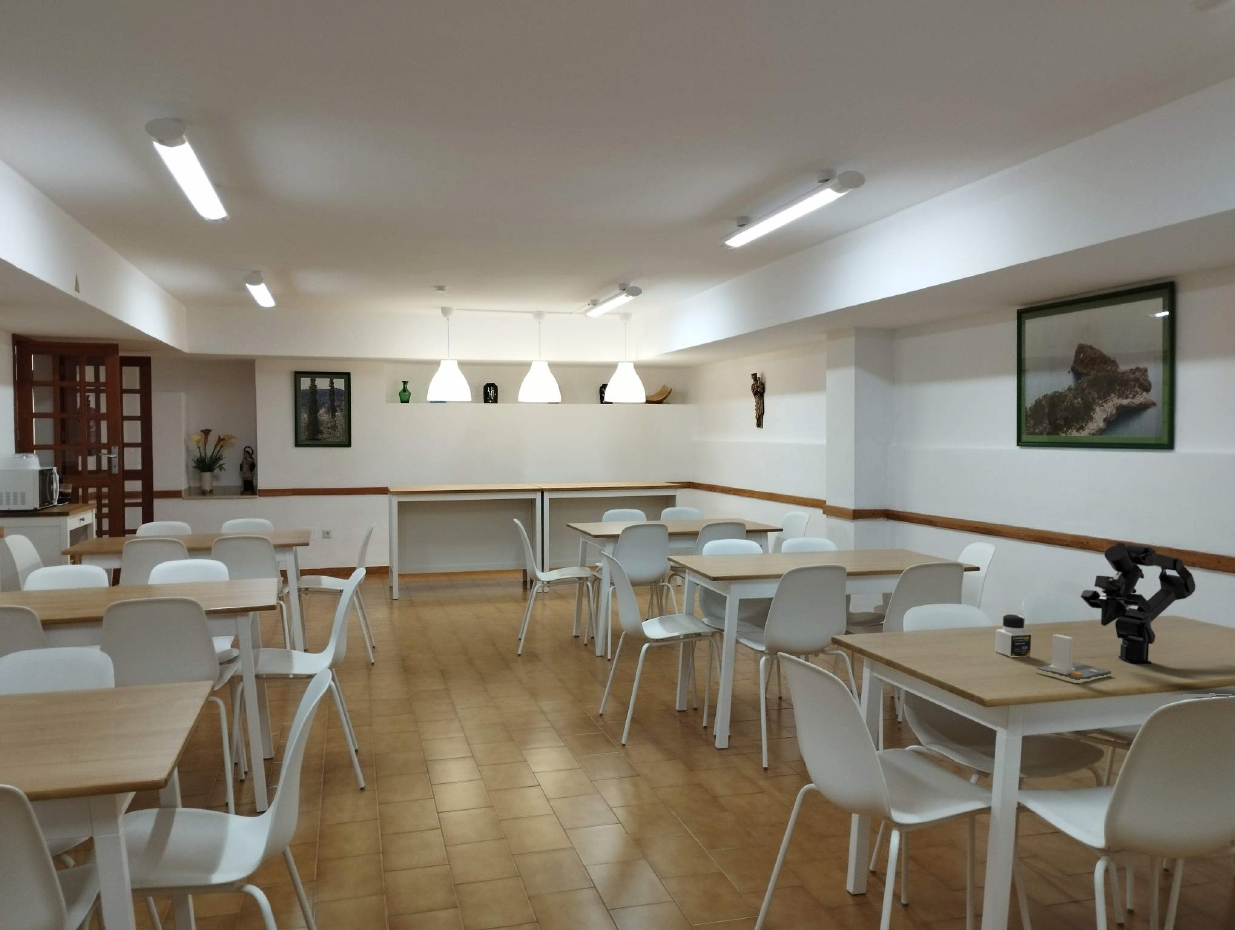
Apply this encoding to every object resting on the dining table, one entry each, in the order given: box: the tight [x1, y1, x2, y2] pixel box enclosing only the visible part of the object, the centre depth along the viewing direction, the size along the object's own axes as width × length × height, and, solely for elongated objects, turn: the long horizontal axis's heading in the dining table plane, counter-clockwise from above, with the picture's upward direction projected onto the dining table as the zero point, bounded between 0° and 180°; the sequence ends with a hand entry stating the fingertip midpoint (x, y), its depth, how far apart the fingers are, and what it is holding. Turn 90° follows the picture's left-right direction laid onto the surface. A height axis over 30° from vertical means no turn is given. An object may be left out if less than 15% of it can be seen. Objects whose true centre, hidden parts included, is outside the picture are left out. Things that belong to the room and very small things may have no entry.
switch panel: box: [1035, 660, 1112, 680], centre depth 250 cm, size 16×12×2 cm
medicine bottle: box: [994, 613, 1032, 657], centre depth 271 cm, size 7×7×12 cm
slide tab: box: [1048, 633, 1075, 675], centre depth 246 cm, size 4×5×10 cm
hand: (1103, 624), depth 256 cm, fingers closed
